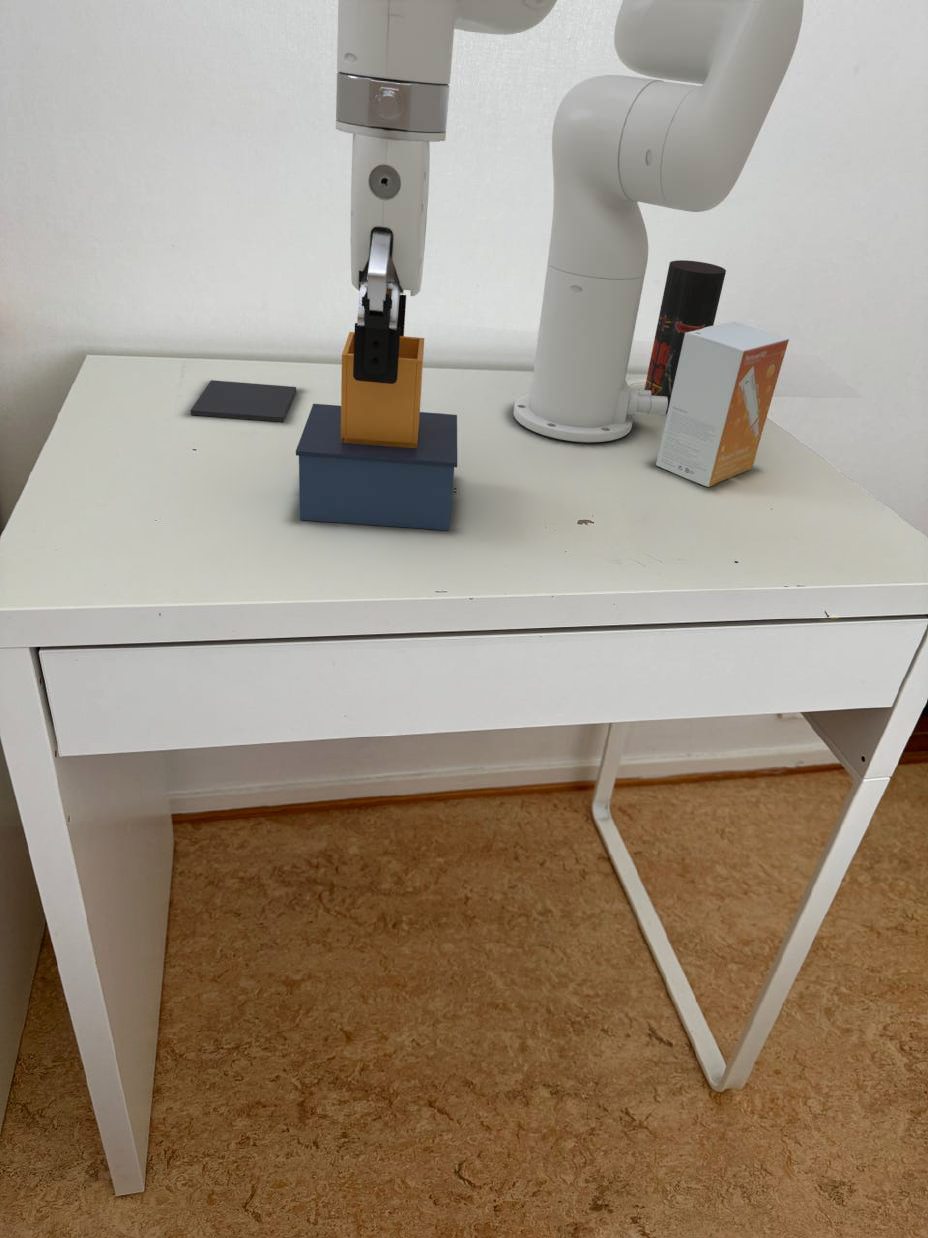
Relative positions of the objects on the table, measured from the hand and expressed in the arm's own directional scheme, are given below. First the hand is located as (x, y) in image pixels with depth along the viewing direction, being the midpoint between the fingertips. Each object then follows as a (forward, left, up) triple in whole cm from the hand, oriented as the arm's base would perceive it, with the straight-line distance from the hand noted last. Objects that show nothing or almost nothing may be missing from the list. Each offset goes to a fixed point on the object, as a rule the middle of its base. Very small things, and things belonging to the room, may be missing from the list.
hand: (379, 361), depth 71 cm
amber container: (0, 0, -6) cm, 6 cm away
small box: (-31, -12, -12) cm, 36 cm away
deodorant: (-31, -30, -12) cm, 45 cm away
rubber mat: (+15, -20, -12) cm, 28 cm away
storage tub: (0, 0, -12) cm, 12 cm away
